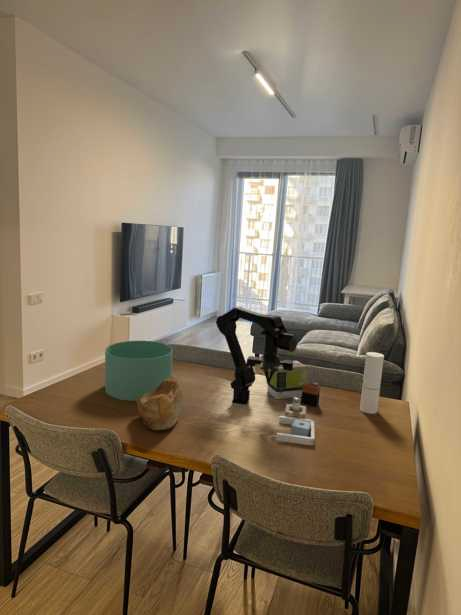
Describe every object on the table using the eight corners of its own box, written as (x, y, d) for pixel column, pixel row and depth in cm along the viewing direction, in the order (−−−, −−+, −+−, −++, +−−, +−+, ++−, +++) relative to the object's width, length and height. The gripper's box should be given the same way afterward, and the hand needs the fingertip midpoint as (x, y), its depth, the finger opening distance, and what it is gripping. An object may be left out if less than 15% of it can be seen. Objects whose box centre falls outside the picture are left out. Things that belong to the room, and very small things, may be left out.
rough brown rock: (149, 406, 176) (147, 372, 173) (188, 408, 172) (186, 374, 169) (125, 433, 153) (121, 394, 150) (168, 436, 150) (165, 397, 147)
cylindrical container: (377, 409, 185) (384, 353, 180) (376, 415, 178) (383, 358, 174) (361, 405, 188) (367, 351, 183) (358, 411, 181) (365, 355, 177)
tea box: (295, 389, 203) (297, 359, 200) (305, 397, 193) (308, 366, 191) (266, 391, 198) (268, 361, 195) (275, 399, 188) (277, 368, 186)
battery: (315, 407, 182) (317, 385, 181) (300, 403, 186) (302, 382, 184) (318, 404, 186) (320, 382, 184) (304, 400, 189) (306, 379, 188)
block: (290, 436, 155) (291, 425, 154) (294, 430, 160) (295, 419, 160) (306, 440, 153) (308, 429, 152) (310, 433, 158) (311, 422, 157)
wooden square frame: (284, 421, 167) (285, 411, 167) (285, 413, 175) (286, 403, 174) (305, 423, 166) (305, 414, 165) (305, 415, 174) (305, 406, 173)
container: (184, 387, 197) (186, 348, 194) (139, 407, 173) (140, 363, 169) (138, 373, 213) (139, 337, 210) (90, 389, 188) (90, 349, 185)
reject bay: (276, 440, 151) (277, 434, 151) (279, 421, 167) (279, 415, 166) (313, 445, 149) (314, 439, 148) (313, 426, 164) (313, 420, 164)
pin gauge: (290, 418, 169) (292, 399, 168) (291, 414, 172) (292, 396, 171) (298, 419, 168) (300, 400, 167) (299, 415, 172) (300, 397, 170)
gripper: (245, 349, 165) (243, 387, 168) (293, 354, 162) (290, 392, 165) (249, 342, 176) (247, 378, 179) (294, 347, 173) (291, 383, 176)
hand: (268, 383), depth 174 cm, fingers closed
